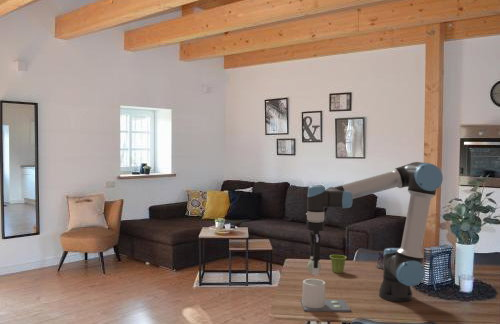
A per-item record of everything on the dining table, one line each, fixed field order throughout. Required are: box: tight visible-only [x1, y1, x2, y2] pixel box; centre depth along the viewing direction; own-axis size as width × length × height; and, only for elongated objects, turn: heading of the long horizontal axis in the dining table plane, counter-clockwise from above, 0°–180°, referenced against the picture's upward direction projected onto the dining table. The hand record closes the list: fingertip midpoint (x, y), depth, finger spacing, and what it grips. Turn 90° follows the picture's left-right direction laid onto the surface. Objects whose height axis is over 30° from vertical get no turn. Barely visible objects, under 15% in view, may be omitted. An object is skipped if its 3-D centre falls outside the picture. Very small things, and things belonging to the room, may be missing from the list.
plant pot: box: [329, 254, 348, 274], centre depth 262 cm, size 9×9×9 cm
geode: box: [376, 251, 384, 270], centre depth 276 cm, size 20×12×10 cm, turn 129°
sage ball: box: [306, 260, 322, 274], centre depth 206 cm, size 6×6×6 cm
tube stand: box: [300, 278, 351, 313], centre depth 206 cm, size 20×13×11 cm, turn 91°
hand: (314, 272), depth 206 cm, fingers closed on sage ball, 6 cm apart
